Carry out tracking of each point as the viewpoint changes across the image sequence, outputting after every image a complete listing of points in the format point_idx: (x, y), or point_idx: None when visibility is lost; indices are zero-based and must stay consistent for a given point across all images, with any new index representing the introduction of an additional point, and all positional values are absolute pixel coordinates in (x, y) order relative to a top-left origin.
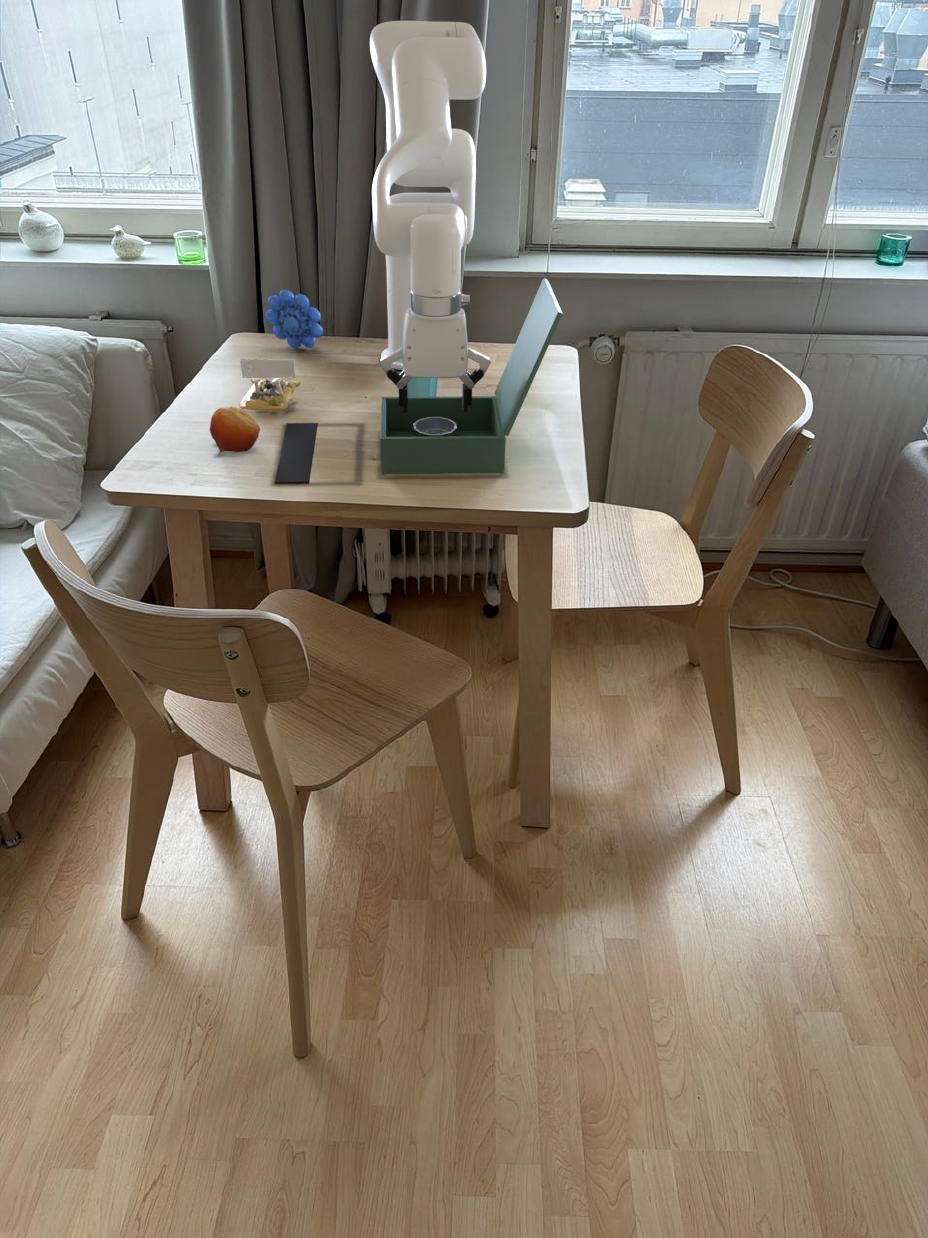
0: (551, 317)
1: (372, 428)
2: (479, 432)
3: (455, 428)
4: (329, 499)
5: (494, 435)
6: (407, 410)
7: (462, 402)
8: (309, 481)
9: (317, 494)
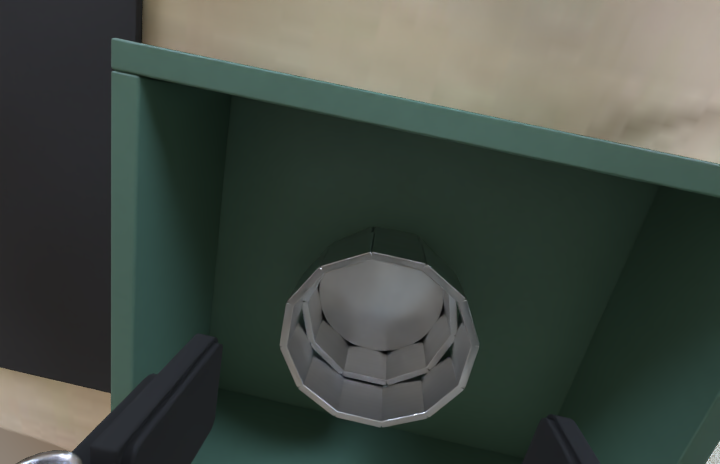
0: None
1: (188, 5)
2: (603, 189)
3: (458, 391)
4: (67, 442)
5: (627, 341)
6: (206, 434)
7: (544, 455)
8: (2, 366)
9: (36, 415)
